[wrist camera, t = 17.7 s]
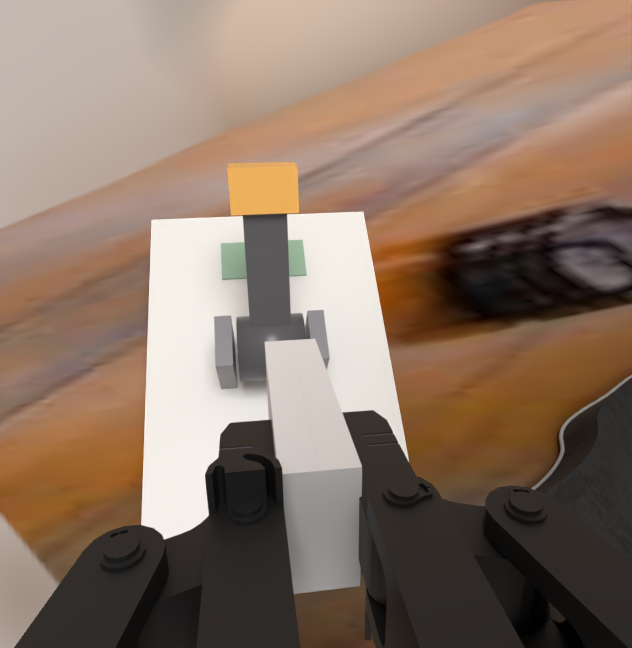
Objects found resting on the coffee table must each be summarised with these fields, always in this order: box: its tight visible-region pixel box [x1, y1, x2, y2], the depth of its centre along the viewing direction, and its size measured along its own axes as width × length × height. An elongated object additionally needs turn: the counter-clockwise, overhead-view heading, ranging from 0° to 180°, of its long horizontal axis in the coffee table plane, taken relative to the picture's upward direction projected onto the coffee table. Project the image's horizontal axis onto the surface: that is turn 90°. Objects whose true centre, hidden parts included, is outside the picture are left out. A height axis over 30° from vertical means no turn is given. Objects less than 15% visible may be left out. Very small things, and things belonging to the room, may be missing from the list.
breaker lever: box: [228, 162, 306, 382], centre depth 30 cm, size 4×4×13 cm
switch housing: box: [141, 212, 409, 539], centre depth 35 cm, size 16×24×10 cm, turn 6°
